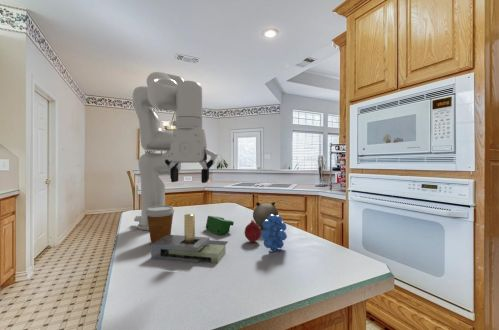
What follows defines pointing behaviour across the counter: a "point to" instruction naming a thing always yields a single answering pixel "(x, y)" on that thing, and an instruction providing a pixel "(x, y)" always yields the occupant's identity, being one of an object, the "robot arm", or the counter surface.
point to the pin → (189, 228)
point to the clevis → (186, 249)
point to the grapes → (274, 232)
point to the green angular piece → (218, 225)
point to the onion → (252, 231)
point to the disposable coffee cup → (159, 221)
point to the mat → (217, 242)
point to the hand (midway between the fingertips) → (189, 182)
